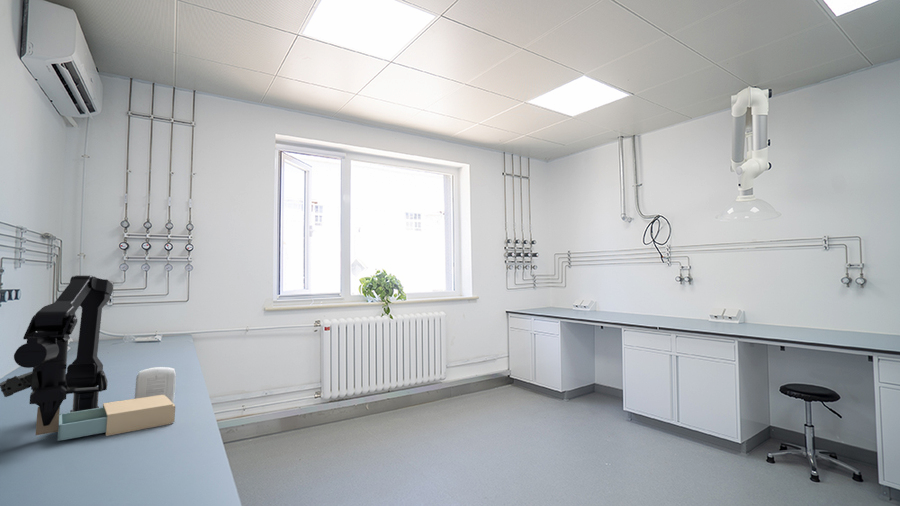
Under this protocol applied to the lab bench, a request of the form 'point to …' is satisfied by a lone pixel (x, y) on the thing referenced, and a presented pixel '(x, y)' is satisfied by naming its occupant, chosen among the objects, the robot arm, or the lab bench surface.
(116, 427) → the sleeve
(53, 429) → the tray
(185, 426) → the lab bench surface
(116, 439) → the lab bench surface
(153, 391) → the white product package
